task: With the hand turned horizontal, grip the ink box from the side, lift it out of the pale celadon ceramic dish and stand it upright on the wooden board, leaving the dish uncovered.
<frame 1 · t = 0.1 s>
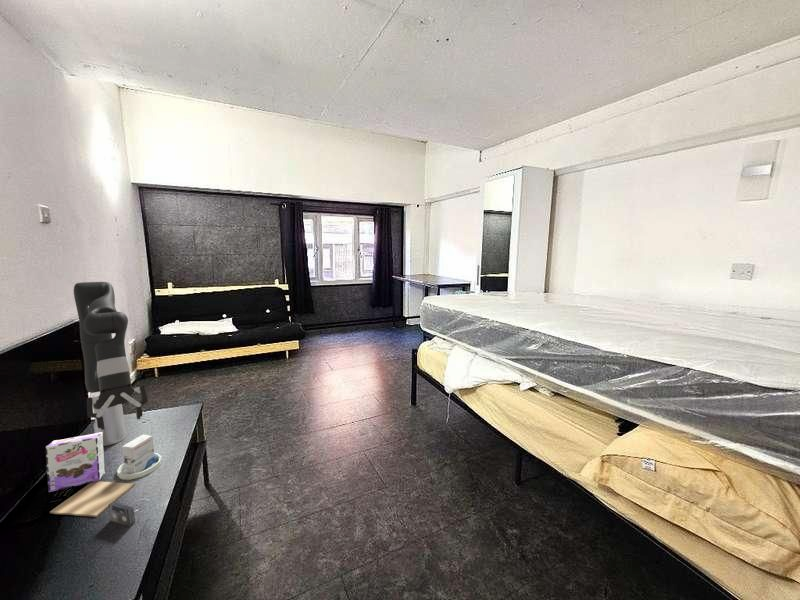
hand: (121, 424, 99), 31 cm above the tv stand, tool tilted 20°, fingers open, 8 cm apart
wooden board: (94, 498, 109), on the tv stand
candy box: (78, 483, 116), on the tv stand, touching wooden board
ink box: (140, 468, 125), resting in ceramic dish
mini dv tape: (122, 522, 100), on the tv stand
ceramic dish: (140, 467, 125), on the tv stand
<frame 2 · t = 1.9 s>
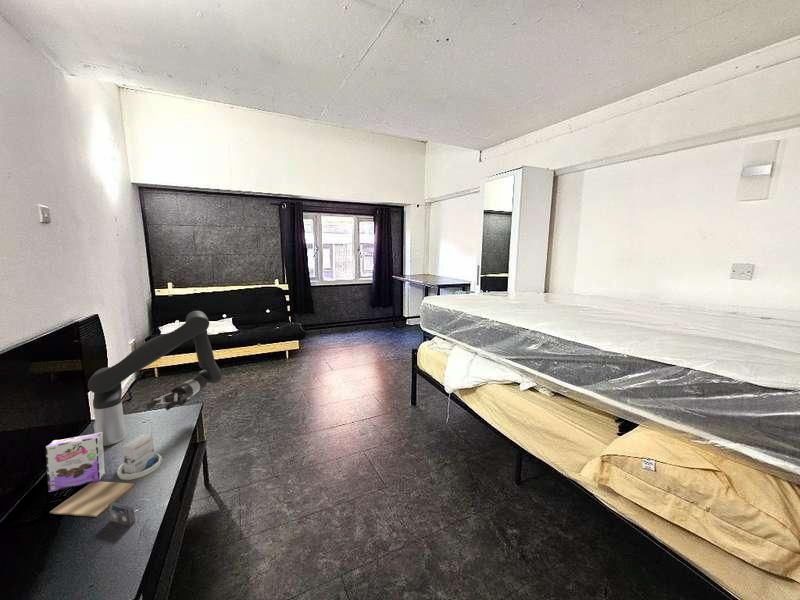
hand: (157, 407, 132), 20 cm above the tv stand, tool horizontal, fingers open, 8 cm apart
nothing on the tv stand moved.
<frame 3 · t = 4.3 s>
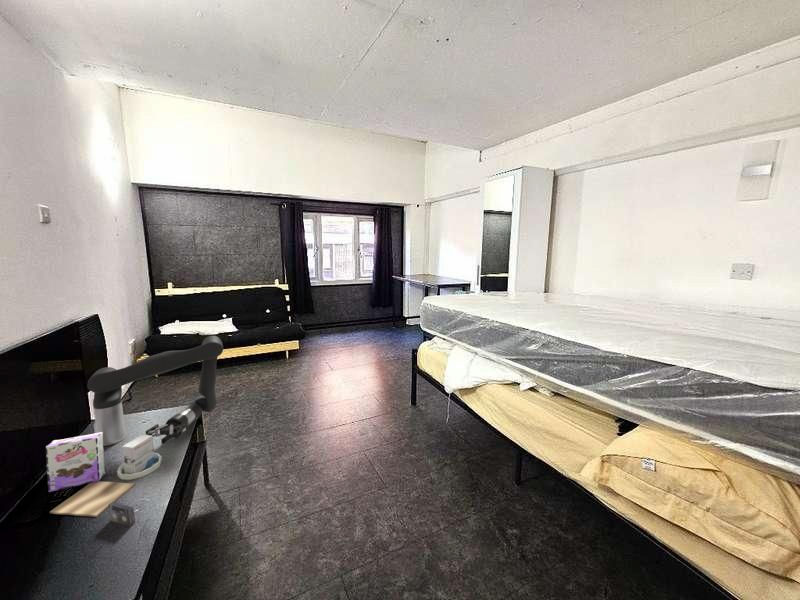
hand: (152, 441, 130), 7 cm above the tv stand, tool horizontal, fingers open, 8 cm apart
nothing on the tv stand moved.
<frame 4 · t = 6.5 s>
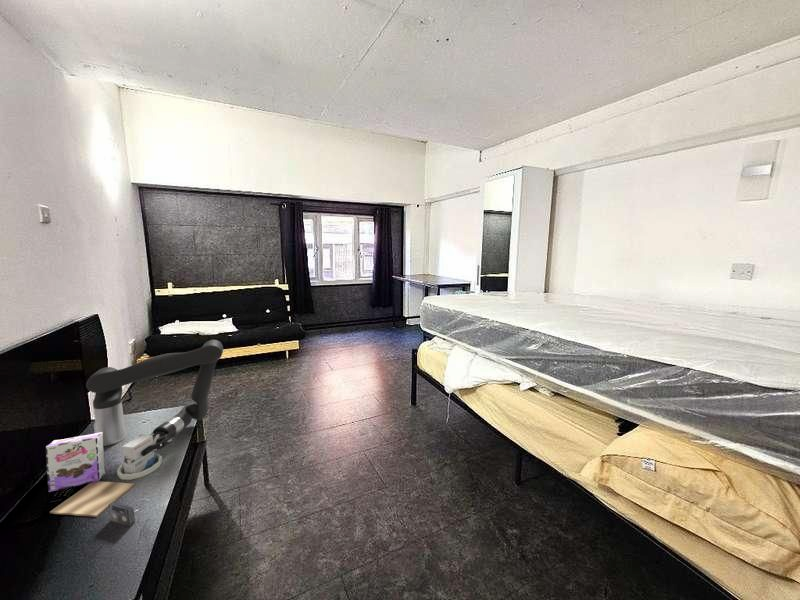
hand: (135, 453, 122), 7 cm above the tv stand, tool horizontal, fingers closed on ink box, 5 cm apart
ink box: (140, 468, 125), resting in ceramic dish, touching gripper
everything else where it was.
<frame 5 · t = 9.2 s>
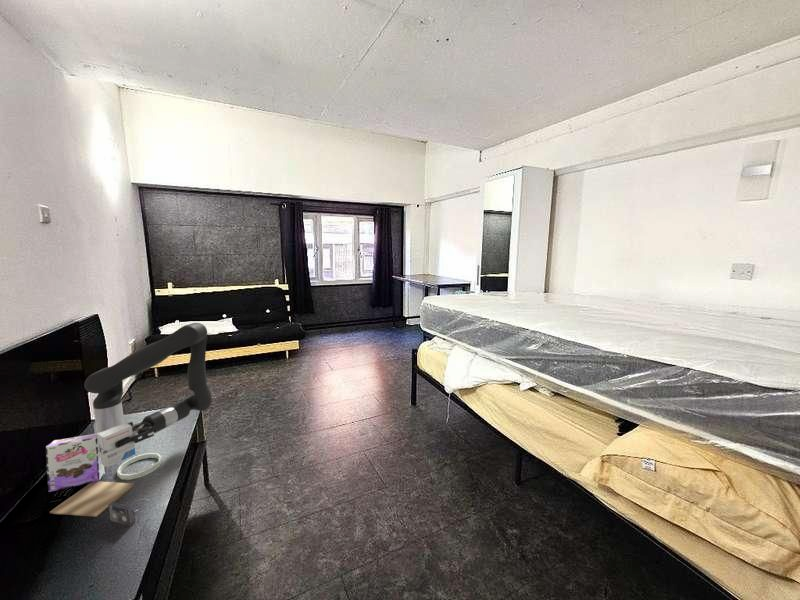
hand: (111, 443, 112), 17 cm above the tv stand, tool horizontal, fingers closed on ink box, 5 cm apart
ink box: (118, 459, 115), point 10 cm above the tv stand, touching gripper
everything else where it was.
when the fingers open (9 cm above the tv stand, at t = 12.3 s): ink box drops 1 cm, resting on wooden board.
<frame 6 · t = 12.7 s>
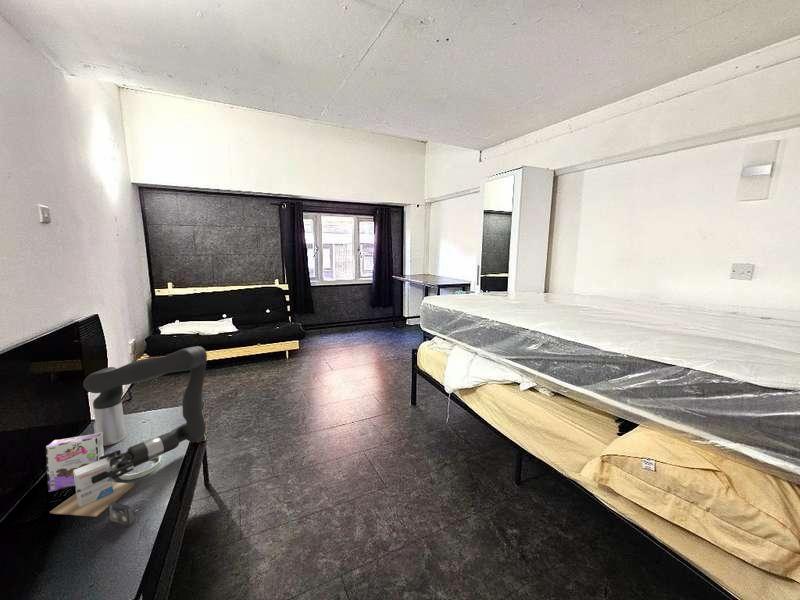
hand: (88, 475, 107), 9 cm above the tv stand, tool horizontal, fingers open, 8 cm apart
ink box: (95, 497, 109), resting on wooden board
everything else where it was.
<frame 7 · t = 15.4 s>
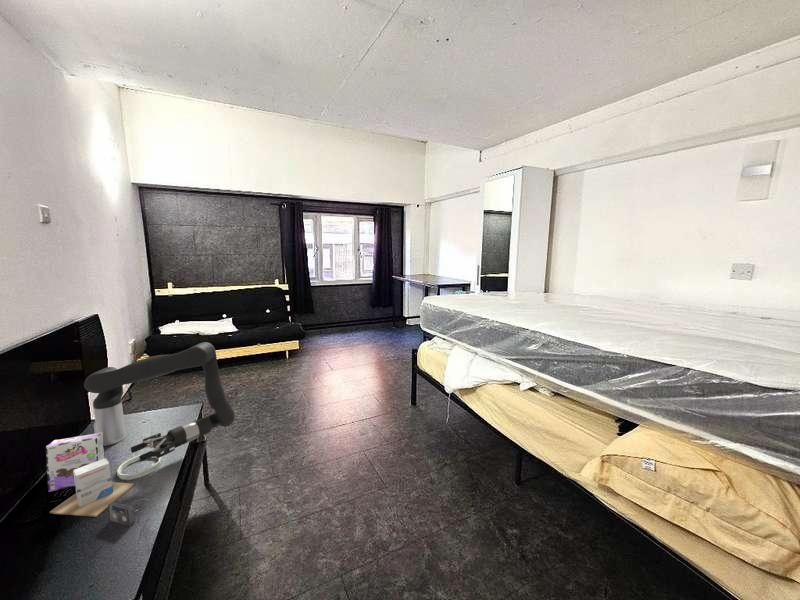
hand: (135, 454, 118), 10 cm above the tv stand, tool horizontal, fingers open, 8 cm apart
nothing on the tv stand moved.
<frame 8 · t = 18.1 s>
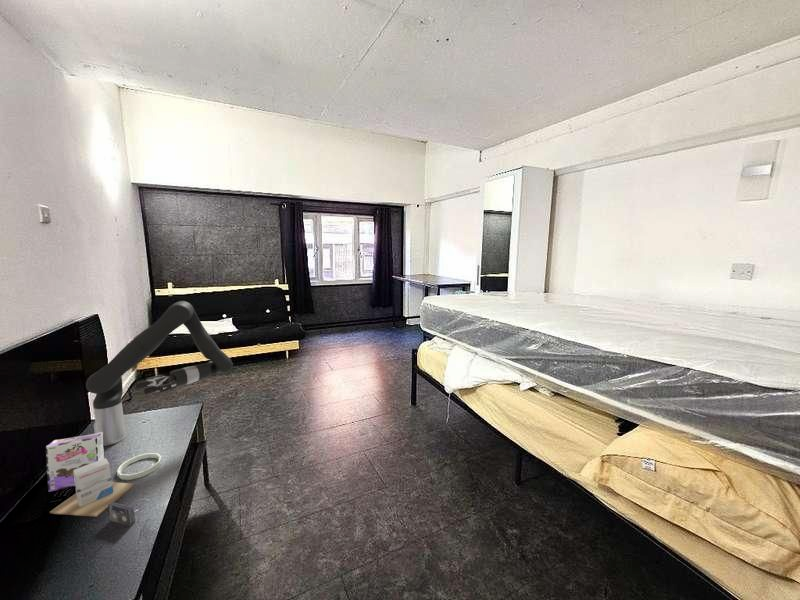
hand: (139, 389, 127), 30 cm above the tv stand, tool horizontal, fingers open, 8 cm apart
nothing on the tv stand moved.
at the end: ink box inside the target area on the wooden board (0.3 cm from its centre), point 0.4 cm above the wooden board's base; ink box tilted 0°; the gripper is holding nothing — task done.
